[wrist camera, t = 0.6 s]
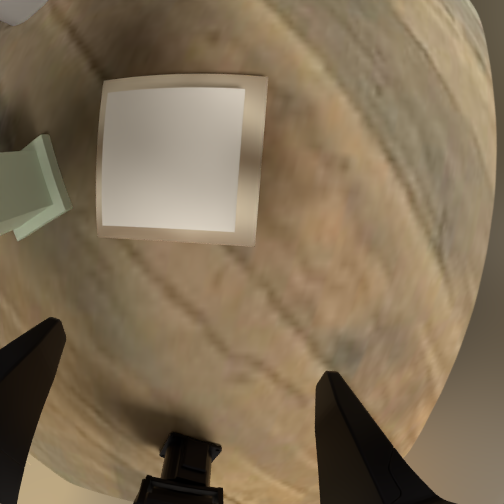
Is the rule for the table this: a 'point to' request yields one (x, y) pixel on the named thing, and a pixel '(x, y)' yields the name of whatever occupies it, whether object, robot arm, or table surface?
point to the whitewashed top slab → (172, 158)
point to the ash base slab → (247, 165)
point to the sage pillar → (31, 188)
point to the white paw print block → (18, 10)
